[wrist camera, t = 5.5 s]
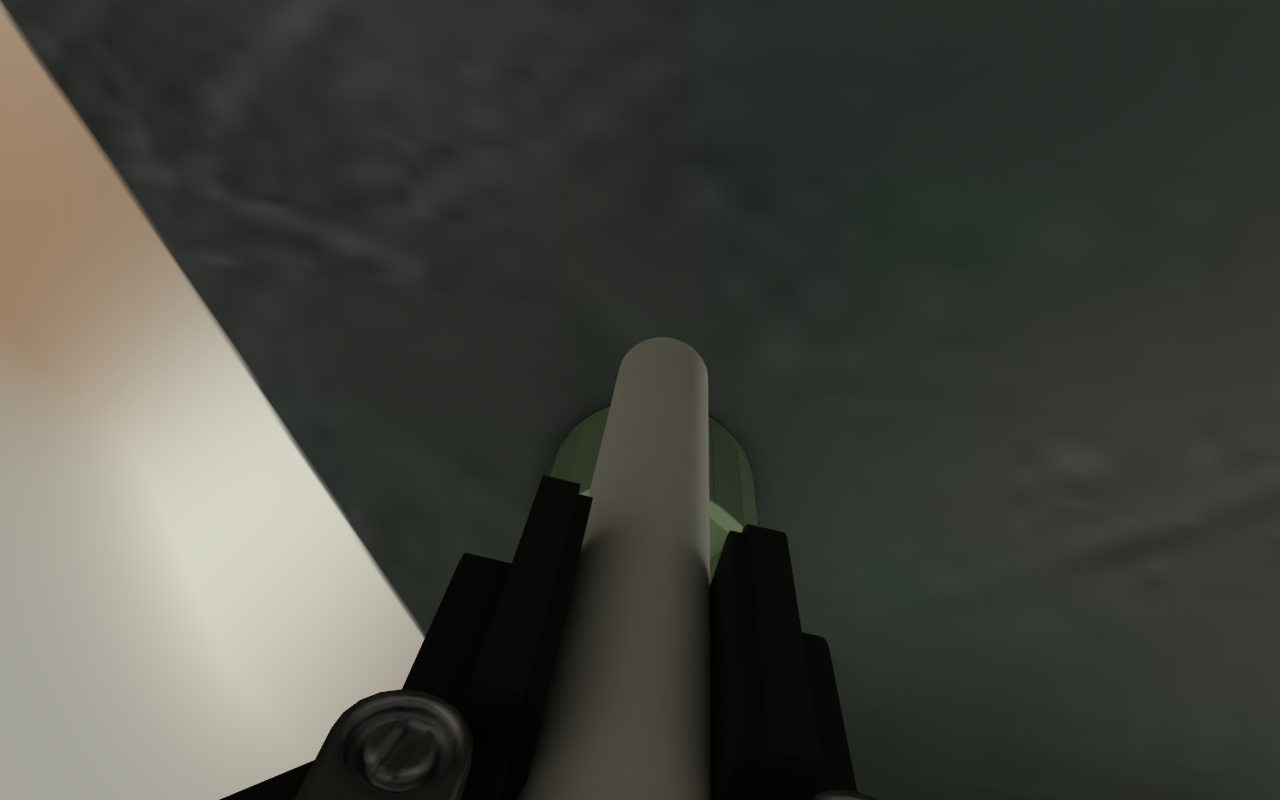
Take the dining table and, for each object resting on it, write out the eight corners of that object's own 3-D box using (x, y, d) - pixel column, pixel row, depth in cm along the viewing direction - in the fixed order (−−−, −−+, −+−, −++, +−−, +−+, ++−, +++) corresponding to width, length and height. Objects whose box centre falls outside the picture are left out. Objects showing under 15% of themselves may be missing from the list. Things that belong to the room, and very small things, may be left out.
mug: (507, 493, 38) (468, 589, 31) (645, 357, 34) (633, 433, 28) (699, 644, 41) (699, 760, 34) (843, 531, 37) (872, 636, 31)
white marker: (628, 323, 18) (426, 1130, 5) (720, 346, 18) (765, 1203, 5) (607, 407, 19) (391, 1282, 6) (696, 429, 19) (680, 1340, 6)
